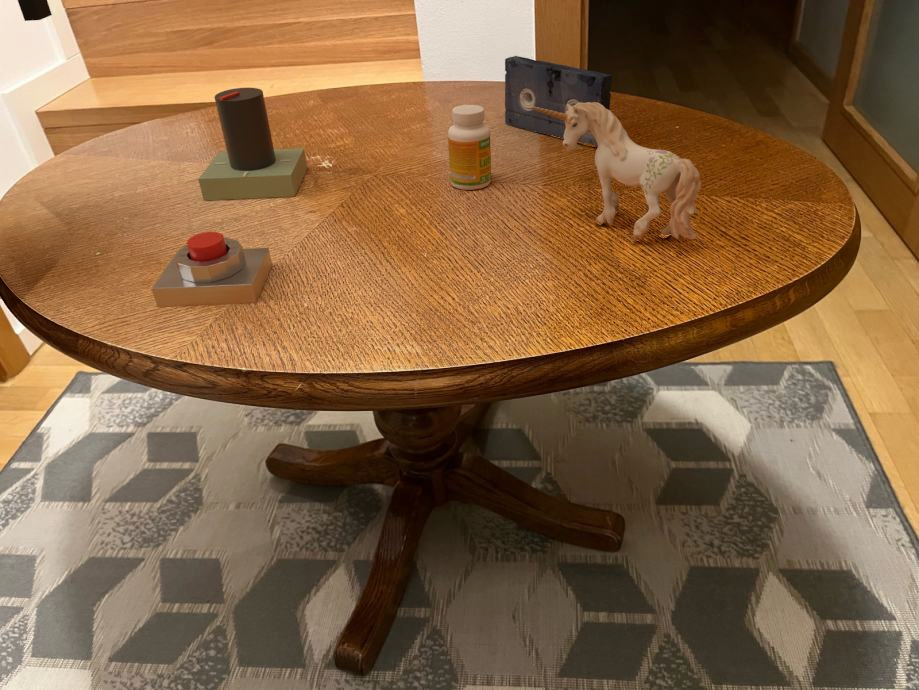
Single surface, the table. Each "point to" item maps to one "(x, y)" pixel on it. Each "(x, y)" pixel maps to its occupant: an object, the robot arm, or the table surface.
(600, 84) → the vhs cassette tape
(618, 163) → the unicorn figurine
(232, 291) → the button box
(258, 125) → the dial
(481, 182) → the supplement bottle
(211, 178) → the dial panel
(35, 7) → the robot arm
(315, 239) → the table surface
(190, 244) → the button
